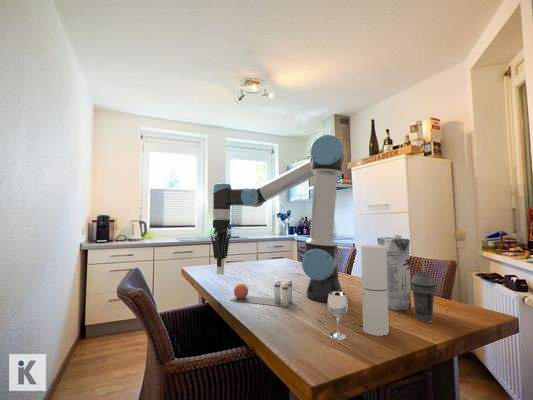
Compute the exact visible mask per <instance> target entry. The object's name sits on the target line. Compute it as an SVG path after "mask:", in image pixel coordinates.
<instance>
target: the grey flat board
mask: <svg viewBox="0 0 533 400" xmlns="http://www.w3.org/2000/svg"><path fill="white" fill-rule="evenodd" d="M230 301H231V302H239V303H246V304H247V303H248V304H254V305H256V304H257V305H265V306H271V307H280V308H288V307H287V306H282V299H281V302H280V303H275V302H274V298H271V297H270V298H269V297H261V296H253V295H247V296H246V297H245V298H243V299H239V298H237V297H236V296H235V297H233V298H231V299H230ZM291 304H292V303H291V302H288V306H290V305H291Z"/></svg>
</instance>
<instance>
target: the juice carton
mask: <svg viewBox="0 0 533 400" xmlns="http://www.w3.org/2000/svg"><path fill="white" fill-rule="evenodd" d="M376 242H377V245H381V246H386V253H387V289H388V309H390V310H392V311H395V312H397V311H408V309H409V310H411V309H412V295H411V294H412V291H411V290H412V287H411V264H410V263H411V262H410V243H411V239H410V238H402V234H400V235H399V234H393V236H392V237H390V236H389V237H387V236H386V237H377V241H376Z"/></svg>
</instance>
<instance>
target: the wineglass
mask: <svg viewBox="0 0 533 400" xmlns="http://www.w3.org/2000/svg"><path fill="white" fill-rule="evenodd" d="M326 305H327V311H328V312H329V314H331V315H332V316H333V317H336V318H335V322H336V332H332V333H330V335H329V336H330V338H331V339H333V340H337V341H343V340H346V339H347V336H346V335H345V334H344V333H341V332H340V326H339V325H340V320H341V319H340V318H341V317H343V316H345V315H347V313H348V310H349V301H348V298H347V294H346V293H345V292H344V291H342V292H339V291H332V292H329V295H328V301H327V304H326Z"/></svg>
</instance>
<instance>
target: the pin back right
mask: <svg viewBox="0 0 533 400" xmlns="http://www.w3.org/2000/svg"><path fill="white" fill-rule="evenodd" d="M292 281H293V280H292V279H286V280H285V283H288V302H291V303H290V304H292V303H293V282H292Z"/></svg>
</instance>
